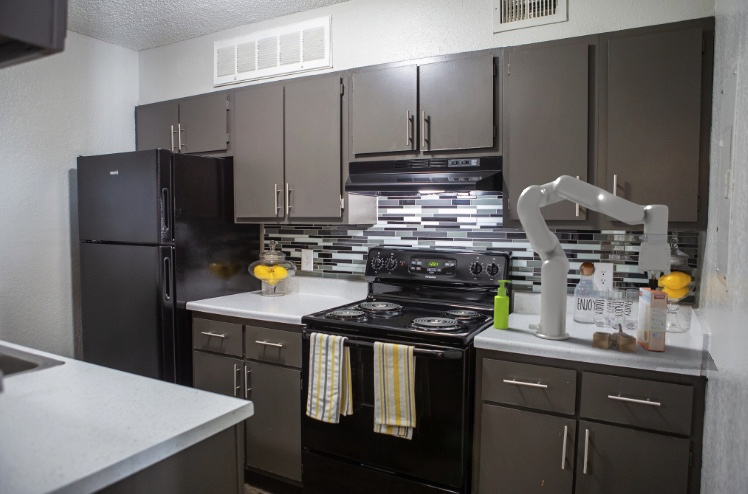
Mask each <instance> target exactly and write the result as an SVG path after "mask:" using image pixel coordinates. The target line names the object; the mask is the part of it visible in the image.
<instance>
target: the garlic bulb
mask: <svg viewBox="0 0 748 494" xmlns="http://www.w3.org/2000/svg"><path fill="white" fill-rule="evenodd" d="M622 328H623V327H622V323H621V322H619V323H618V332H613V333H611V343H612V344H613V346H617V335H629V334H628V333H626V332H624V331H623V329H622Z"/></svg>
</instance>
